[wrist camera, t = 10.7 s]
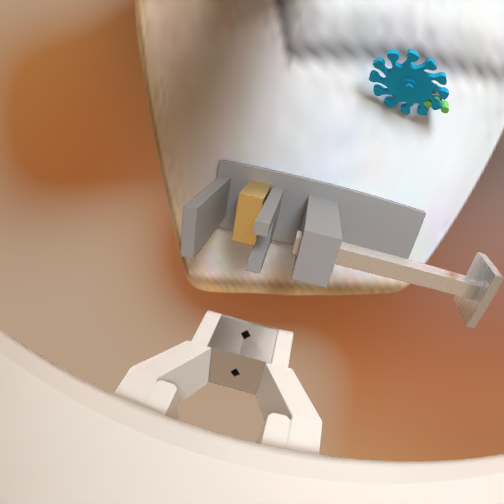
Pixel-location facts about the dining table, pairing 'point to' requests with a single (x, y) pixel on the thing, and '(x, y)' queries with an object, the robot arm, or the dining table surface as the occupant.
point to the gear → (410, 83)
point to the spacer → (249, 211)
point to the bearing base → (300, 219)
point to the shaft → (427, 276)
